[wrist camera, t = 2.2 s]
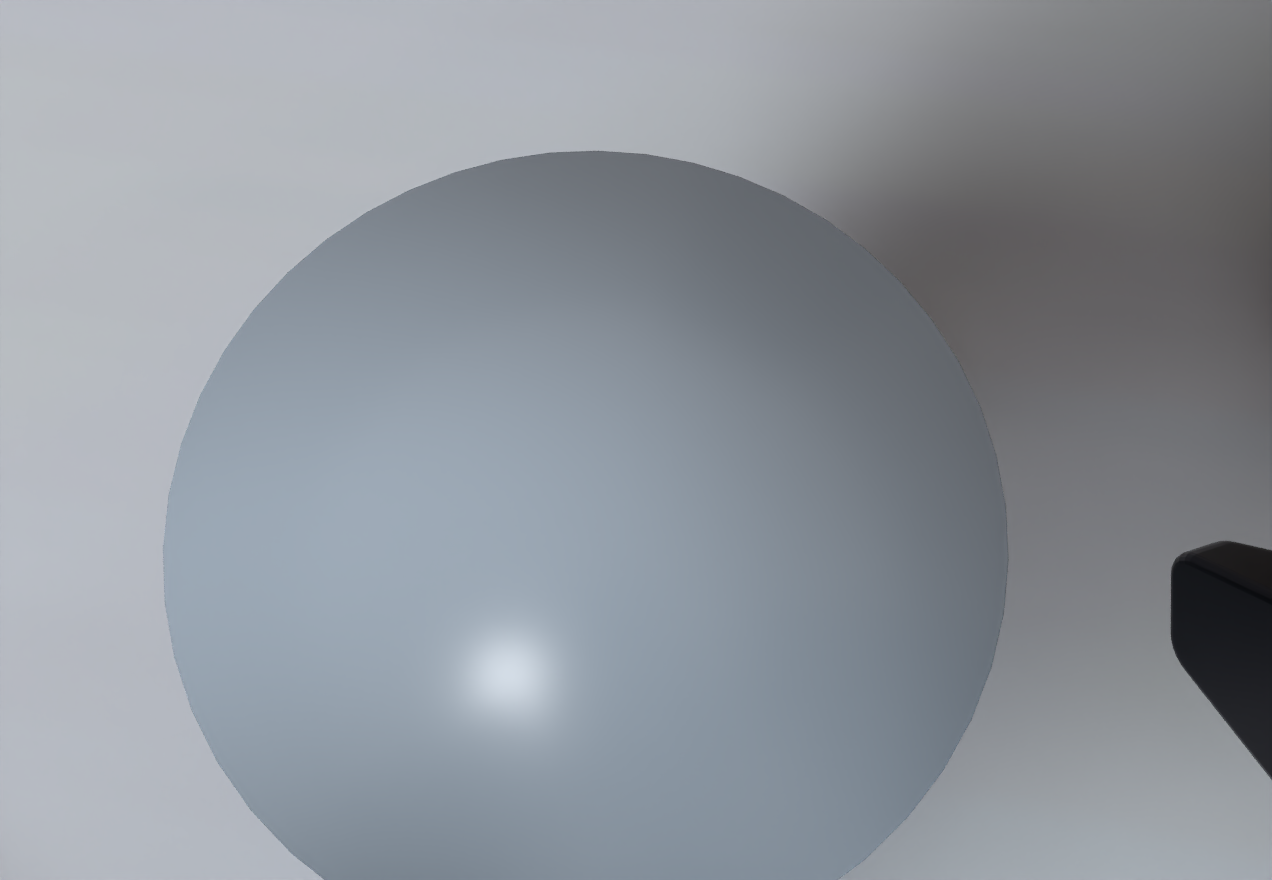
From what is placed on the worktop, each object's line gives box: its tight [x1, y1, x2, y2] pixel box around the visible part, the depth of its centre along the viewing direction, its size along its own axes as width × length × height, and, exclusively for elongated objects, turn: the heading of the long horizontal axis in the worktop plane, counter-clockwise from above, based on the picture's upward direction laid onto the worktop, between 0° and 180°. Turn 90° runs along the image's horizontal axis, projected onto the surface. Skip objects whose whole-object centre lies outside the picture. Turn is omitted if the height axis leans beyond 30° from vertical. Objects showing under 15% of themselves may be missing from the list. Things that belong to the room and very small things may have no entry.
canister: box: [163, 151, 1008, 880], centre depth 12 cm, size 5×5×12 cm
